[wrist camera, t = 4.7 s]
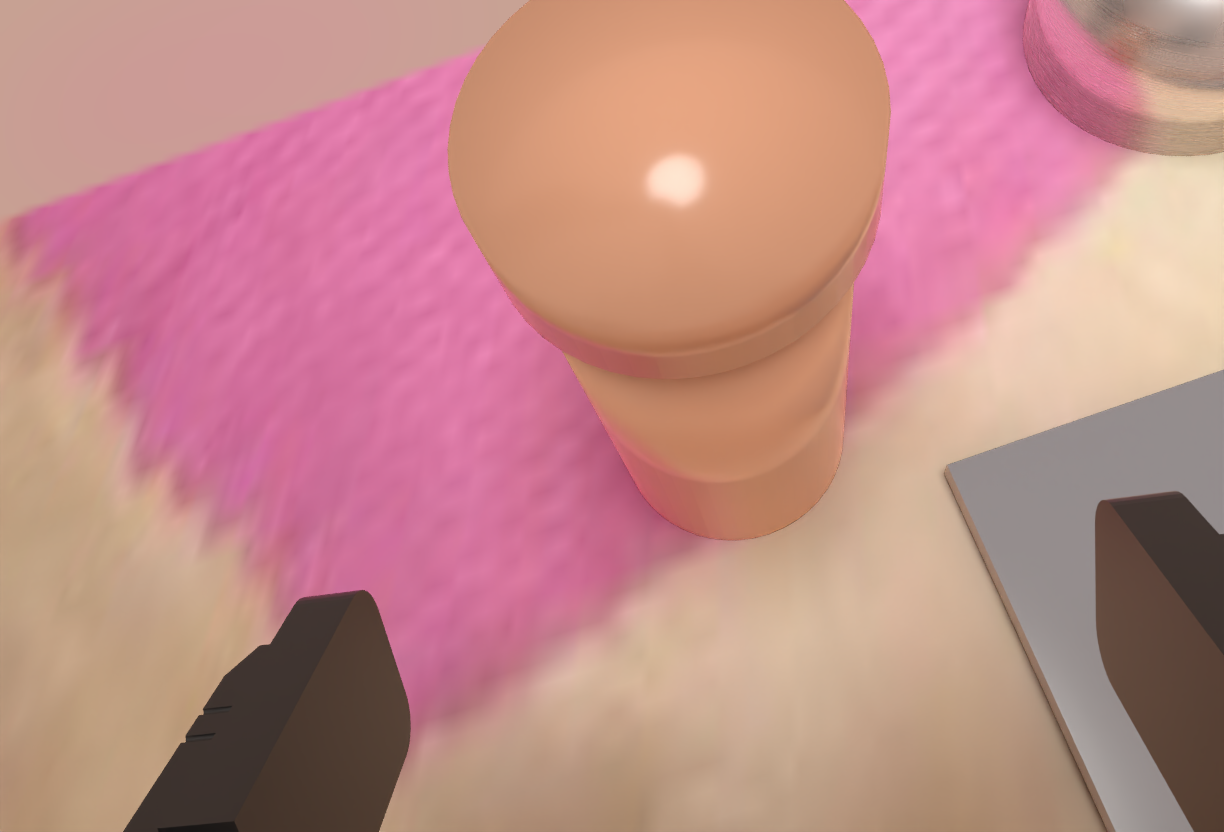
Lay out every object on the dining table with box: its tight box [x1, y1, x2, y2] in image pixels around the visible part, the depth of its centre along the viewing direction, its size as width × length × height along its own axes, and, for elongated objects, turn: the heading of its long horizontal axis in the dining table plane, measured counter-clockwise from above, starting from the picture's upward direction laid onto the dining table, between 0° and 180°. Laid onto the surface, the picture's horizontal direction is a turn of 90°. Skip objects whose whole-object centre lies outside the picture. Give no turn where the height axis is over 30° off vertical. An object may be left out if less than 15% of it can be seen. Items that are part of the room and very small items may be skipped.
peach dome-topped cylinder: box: [448, 0, 891, 540], centre depth 19 cm, size 6×6×12 cm
